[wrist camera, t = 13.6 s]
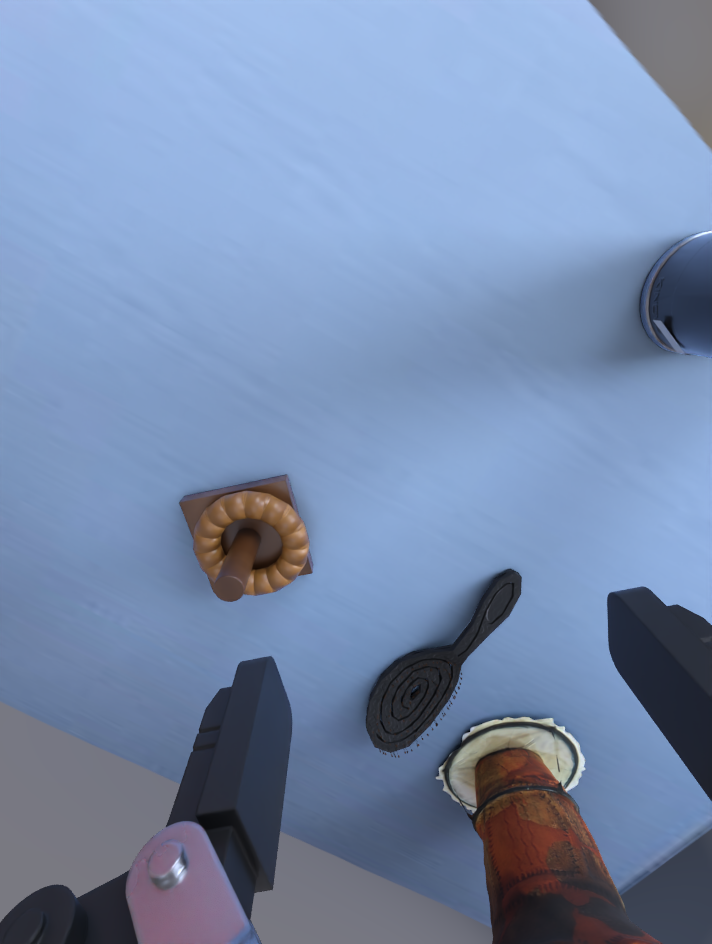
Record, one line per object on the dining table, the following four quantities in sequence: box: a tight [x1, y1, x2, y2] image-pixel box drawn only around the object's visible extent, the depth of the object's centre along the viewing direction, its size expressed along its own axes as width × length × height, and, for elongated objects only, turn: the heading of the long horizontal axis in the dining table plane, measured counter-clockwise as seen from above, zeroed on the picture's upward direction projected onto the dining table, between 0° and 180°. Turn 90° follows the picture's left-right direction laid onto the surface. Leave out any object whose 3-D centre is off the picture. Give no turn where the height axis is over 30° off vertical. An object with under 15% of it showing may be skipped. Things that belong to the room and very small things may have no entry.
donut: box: [193, 491, 309, 596], centre depth 43 cm, size 10×10×2 cm
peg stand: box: [180, 475, 313, 602], centre depth 41 cm, size 10×10×10 cm
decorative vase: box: [436, 717, 662, 944], centre depth 45 cm, size 21×23×28 cm
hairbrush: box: [366, 569, 522, 758], centre depth 50 cm, size 8×4×25 cm
